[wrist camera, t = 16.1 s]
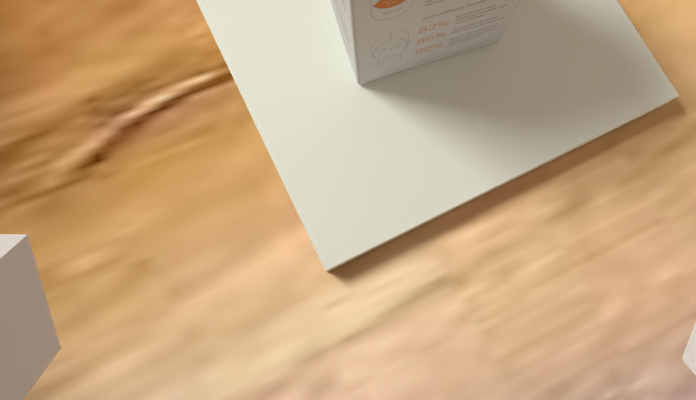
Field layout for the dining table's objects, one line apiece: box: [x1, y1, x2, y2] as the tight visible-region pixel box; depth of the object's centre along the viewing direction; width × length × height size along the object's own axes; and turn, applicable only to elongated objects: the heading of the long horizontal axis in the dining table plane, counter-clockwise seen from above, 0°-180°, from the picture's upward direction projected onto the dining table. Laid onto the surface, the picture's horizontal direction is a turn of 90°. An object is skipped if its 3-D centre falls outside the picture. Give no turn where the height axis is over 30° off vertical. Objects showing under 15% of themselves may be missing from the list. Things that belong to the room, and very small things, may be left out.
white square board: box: [196, 0, 679, 272], centre depth 29 cm, size 20×20×1 cm
